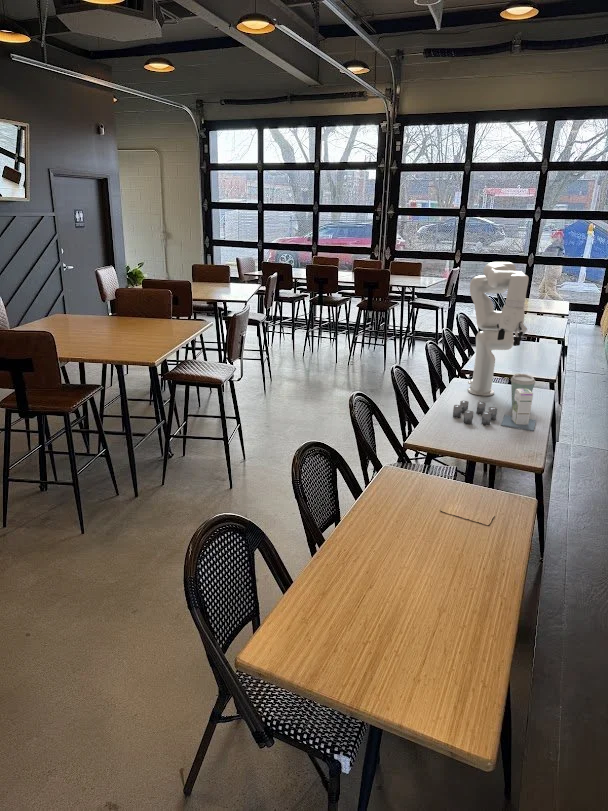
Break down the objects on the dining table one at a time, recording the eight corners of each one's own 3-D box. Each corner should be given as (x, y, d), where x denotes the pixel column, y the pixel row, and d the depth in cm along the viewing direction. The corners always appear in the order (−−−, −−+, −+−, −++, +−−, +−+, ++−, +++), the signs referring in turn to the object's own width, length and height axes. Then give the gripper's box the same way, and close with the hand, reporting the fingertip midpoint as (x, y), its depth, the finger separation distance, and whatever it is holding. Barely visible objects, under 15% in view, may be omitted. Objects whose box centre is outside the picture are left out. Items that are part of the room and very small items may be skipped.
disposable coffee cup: (534, 411, 249) (539, 380, 243) (510, 411, 249) (515, 379, 244) (525, 403, 259) (531, 373, 253) (503, 403, 259) (507, 373, 254)
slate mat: (501, 425, 231) (501, 424, 231) (504, 416, 242) (504, 414, 242) (533, 431, 226) (533, 430, 226) (535, 421, 237) (535, 419, 237)
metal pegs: (445, 413, 244) (446, 402, 243) (475, 408, 251) (476, 398, 249) (472, 427, 228) (474, 416, 227) (503, 422, 235) (505, 412, 233)
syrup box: (528, 425, 231) (534, 392, 226) (514, 424, 231) (520, 392, 226) (523, 420, 237) (529, 388, 232) (510, 419, 237) (515, 388, 232)
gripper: (493, 300, 238) (488, 338, 244) (523, 308, 223) (516, 348, 230) (507, 299, 240) (501, 337, 247) (536, 307, 226) (529, 347, 232)
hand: (508, 342), depth 238 cm, fingers open, 9 cm apart
